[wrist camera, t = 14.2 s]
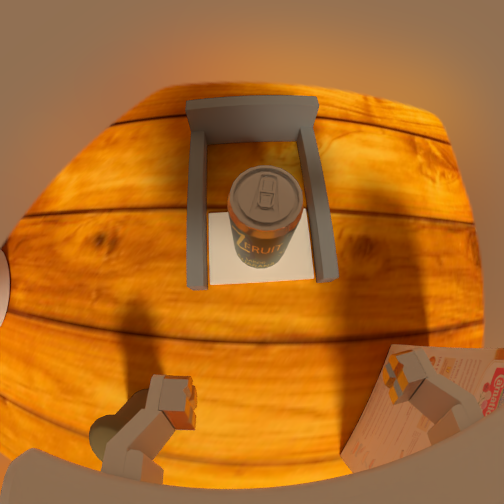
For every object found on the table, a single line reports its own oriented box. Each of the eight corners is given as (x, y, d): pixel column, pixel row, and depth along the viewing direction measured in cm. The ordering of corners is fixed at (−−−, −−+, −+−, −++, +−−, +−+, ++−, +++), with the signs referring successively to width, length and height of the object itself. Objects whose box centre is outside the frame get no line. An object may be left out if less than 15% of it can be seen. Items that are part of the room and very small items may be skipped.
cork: (133, 381, 26) (80, 403, 15) (183, 399, 26) (149, 436, 15) (125, 424, 24) (77, 459, 14) (173, 443, 24) (141, 490, 14)
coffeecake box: (383, 463, 23) (472, 537, 4) (337, 456, 24) (414, 555, 5) (431, 357, 27) (558, 363, 8) (390, 342, 27) (528, 345, 8)
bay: (193, 290, 29) (176, 280, 22) (195, 136, 34) (186, 100, 27) (330, 281, 29) (353, 269, 22) (306, 132, 34) (316, 96, 27)
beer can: (239, 218, 30) (233, 158, 19) (287, 225, 30) (308, 168, 19) (230, 266, 29) (219, 228, 17) (281, 273, 29) (303, 240, 17)
